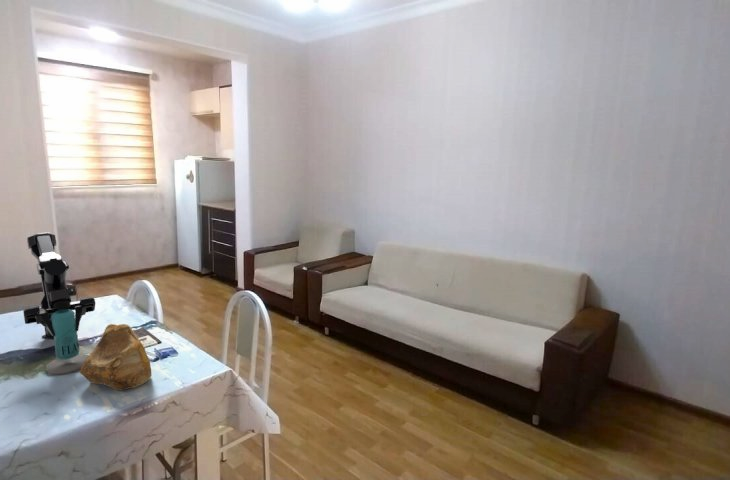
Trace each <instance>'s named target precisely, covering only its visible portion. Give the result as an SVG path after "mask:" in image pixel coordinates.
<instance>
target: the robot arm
mask: <svg viewBox="0 0 730 480" xmlns="http://www.w3.org/2000/svg"><path fill="white" fill-rule="evenodd" d="M26 241H27V242H26V243H27V248H28V249H29V250H30V253H31V255H32V256H33V257H34V258H36V260H37V264H36V270H37V274H38V275H40V278H41V279H40V280H41V286H42V291H43V292H42V293H43V298H42V299H41V301H40V306H33V307H27V308H24V310H22V311H23V319H24V320H23V321H24V324H26V325H29V324H34V323H36V324H37V325H42V327H44V332H45V334H43V335H42V336H41V338H46V339H53V340H54V330H53V327H52V320H51V315H52V314H53V313H54V312H55V311H58V310H61V309H54V302H55V301H58V300H68V301H69V304H70V306H69V307H68V308H65V309H70V310H72V311H74V313H75V321H76V330H77V332H78V331H79V328H80V321H81V319H82V317H83V316H85V315H86V313H90V312H95V309H96V299H95V298H94V297H93V296H90V297H85V298H80V299H79V302H76V303H73V304H71V303H72V298H71V297H74V296H77V290H76V286H75V285H69V286H67V281H66V279H67V271H68V269H70V267H69V263H67V262H66V261H65V260H63V258H62V255H60V254H58V253H56V252H55V249H56V246H57V240H56V235H55V234H52V233H51V232H49V231H47V232H38V233H37V232H36V233H34V234H33V235H30V236H28V237H27V238H26Z"/></svg>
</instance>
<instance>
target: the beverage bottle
mask: <svg viewBox="0 0 730 480" xmlns="http://www.w3.org/2000/svg"><path fill="white" fill-rule="evenodd" d="M70 304H71V303H70ZM70 304H69V301H68V300H58V301H55V302H54V309H61V310H58V311H55V312H54V313H53V314H52V315H51V320H52V327H53V330H54V339H53V342H54V343H53V344H54V352H55V357H56V359H60V360H65V359H70V358H73V357H75V356H77V355H78V354H80V350H81V349H80V343H79V338H78V331H77V330H76V321H75V310H70V309H65V308H68V307H69V306H70Z"/></svg>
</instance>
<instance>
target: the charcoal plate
mask: <svg viewBox="0 0 730 480" xmlns="http://www.w3.org/2000/svg"><path fill="white" fill-rule="evenodd" d="M89 355H90V354H85V353H79V354H78V355H77V356H75V357H73V358H70V359H65V360H60V359H57V358H56V359H54V360H52V361H51V362H49V363H48V364H47V365H46V366H45V369H46V374H48V375H51V376H64V375H70V374H74V373H77V372H80V370H81V368H82V365H83V363H84V362H85V360H86V358H87V357H88V356H89Z"/></svg>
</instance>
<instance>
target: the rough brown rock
mask: <svg viewBox="0 0 730 480" xmlns="http://www.w3.org/2000/svg"><path fill="white" fill-rule="evenodd" d="M133 330H134V329H132V327H131V326H130V325H129V324H126V323H122V324H121V323H120V324H113V323H110V324H108V325H107V326H106V327H105V329H104V330H103V331H104V332H103V333H102V336H101V338H100V340H99V341H98V343H97V344H96V346H95V347H94V349H93V351H91V352H90V354H88V355H89V356H88V357H87V358H86V360H85V362H84V363H83V365H82V368H81V370H79V374H80V375H81V376H83V377H84V378H85V379H87V380H88V381H89V383H93V384H95V385H97V384H98V385H105V386H106V387H109V388H112V389H115V390H116V391H117V390H118V391H124V392H125V391H126V390H127V389H134V388H136V387H138V386H141V385H143V384H145V383H146V382H147V381H149V380H150V378H151V377H152V368H151V367H152V366H151V362H150V358H149V357H148V354H147V351H146V349H145V348H144V347H143V344H142V343H141V342H140V341H139V339H138V337H137V336H136V334H135V333H134V332H133Z"/></svg>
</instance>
